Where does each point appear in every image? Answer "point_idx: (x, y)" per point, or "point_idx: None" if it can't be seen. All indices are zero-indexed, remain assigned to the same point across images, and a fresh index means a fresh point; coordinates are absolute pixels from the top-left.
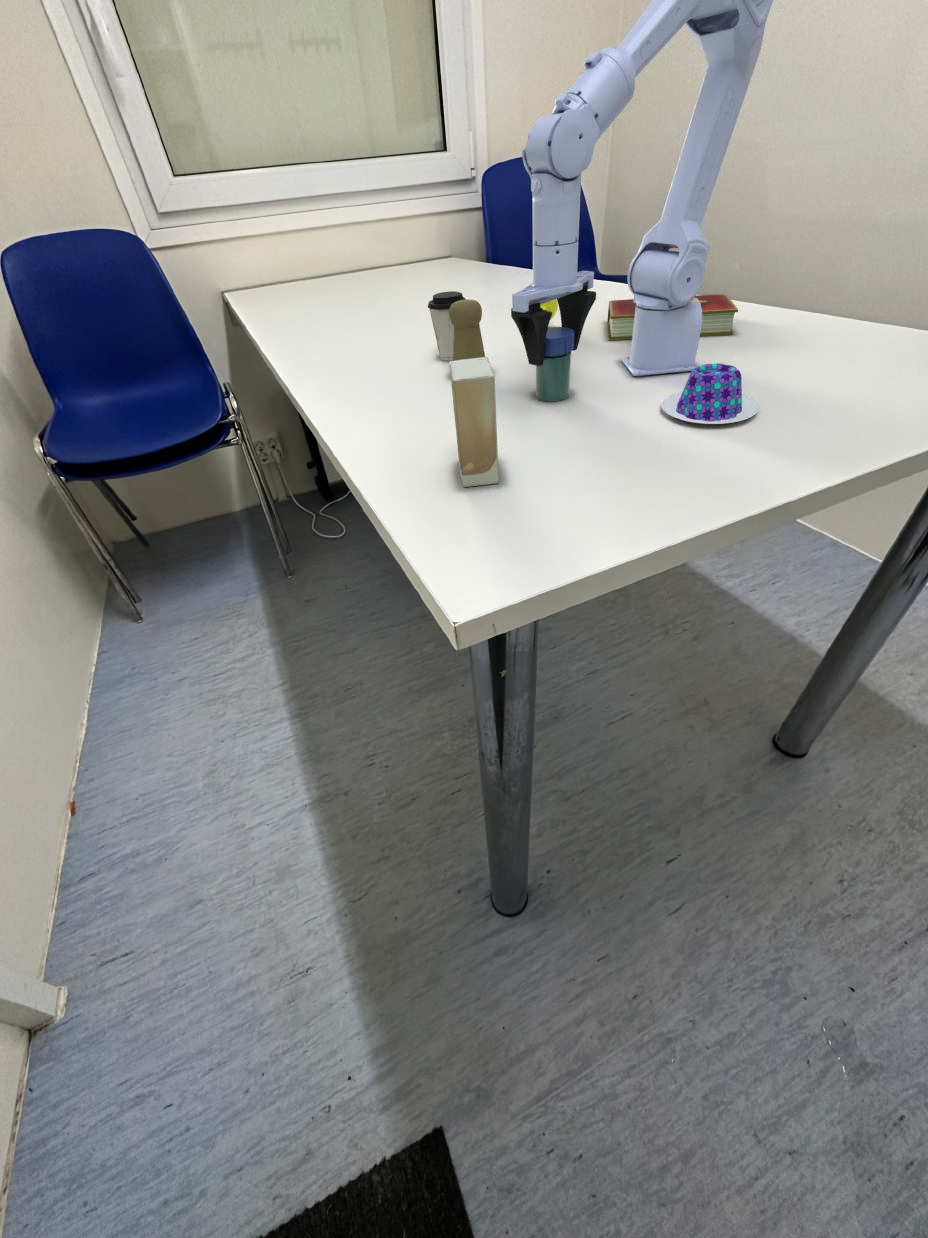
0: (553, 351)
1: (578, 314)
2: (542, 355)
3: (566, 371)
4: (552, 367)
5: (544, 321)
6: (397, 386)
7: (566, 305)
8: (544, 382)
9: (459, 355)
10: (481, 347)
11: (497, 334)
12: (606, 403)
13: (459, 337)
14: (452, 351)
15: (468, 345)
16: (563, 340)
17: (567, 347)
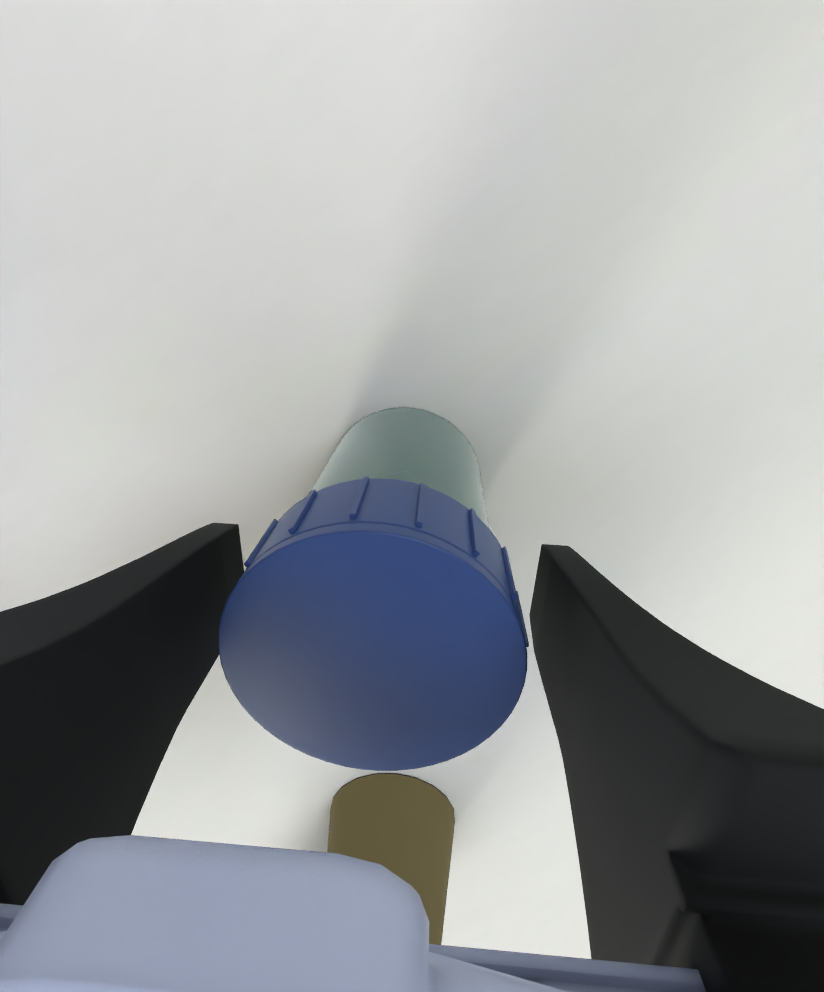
0: (494, 542)
1: (104, 656)
2: (581, 565)
3: (402, 447)
4: (477, 505)
5: (779, 715)
6: (585, 910)
7: (95, 813)
8: (485, 507)
9: (444, 903)
10: None
11: None
12: (351, 187)
13: None
14: None
15: None
16: (442, 533)
17: (406, 494)
